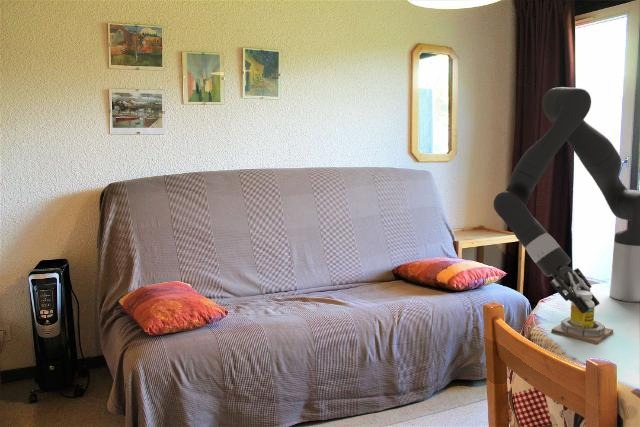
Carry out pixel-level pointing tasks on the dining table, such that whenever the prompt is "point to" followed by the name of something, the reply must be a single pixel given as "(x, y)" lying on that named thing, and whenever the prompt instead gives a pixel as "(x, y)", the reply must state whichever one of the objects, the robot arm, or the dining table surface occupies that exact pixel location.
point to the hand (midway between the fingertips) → (591, 308)
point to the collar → (583, 331)
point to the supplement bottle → (585, 318)
